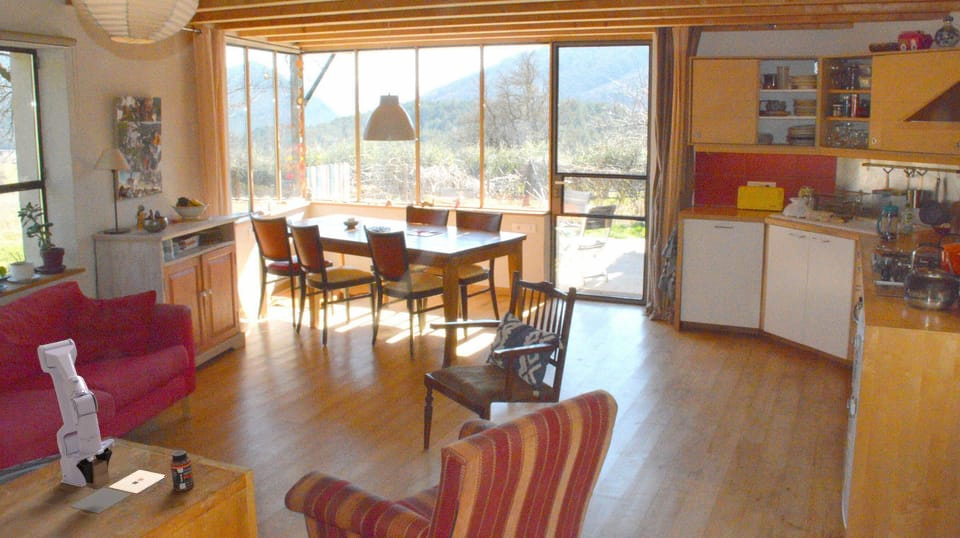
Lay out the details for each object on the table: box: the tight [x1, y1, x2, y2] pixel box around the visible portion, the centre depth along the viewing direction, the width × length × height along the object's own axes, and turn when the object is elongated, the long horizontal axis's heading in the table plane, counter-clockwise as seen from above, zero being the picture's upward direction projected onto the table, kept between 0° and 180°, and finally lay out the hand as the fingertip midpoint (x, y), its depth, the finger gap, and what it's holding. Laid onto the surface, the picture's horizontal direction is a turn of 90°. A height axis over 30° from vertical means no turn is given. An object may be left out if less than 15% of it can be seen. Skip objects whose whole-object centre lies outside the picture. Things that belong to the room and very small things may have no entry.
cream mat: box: [108, 469, 166, 494], centre depth 270 cm, size 12×12×1 cm
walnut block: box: [85, 457, 111, 491], centre depth 257 cm, size 4×4×7 cm
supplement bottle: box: [169, 449, 195, 492], centre depth 263 cm, size 6×6×11 cm
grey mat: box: [69, 487, 132, 515], centre depth 259 cm, size 12×12×1 cm
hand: (97, 478), depth 258 cm, fingers closed on walnut block, 4 cm apart
